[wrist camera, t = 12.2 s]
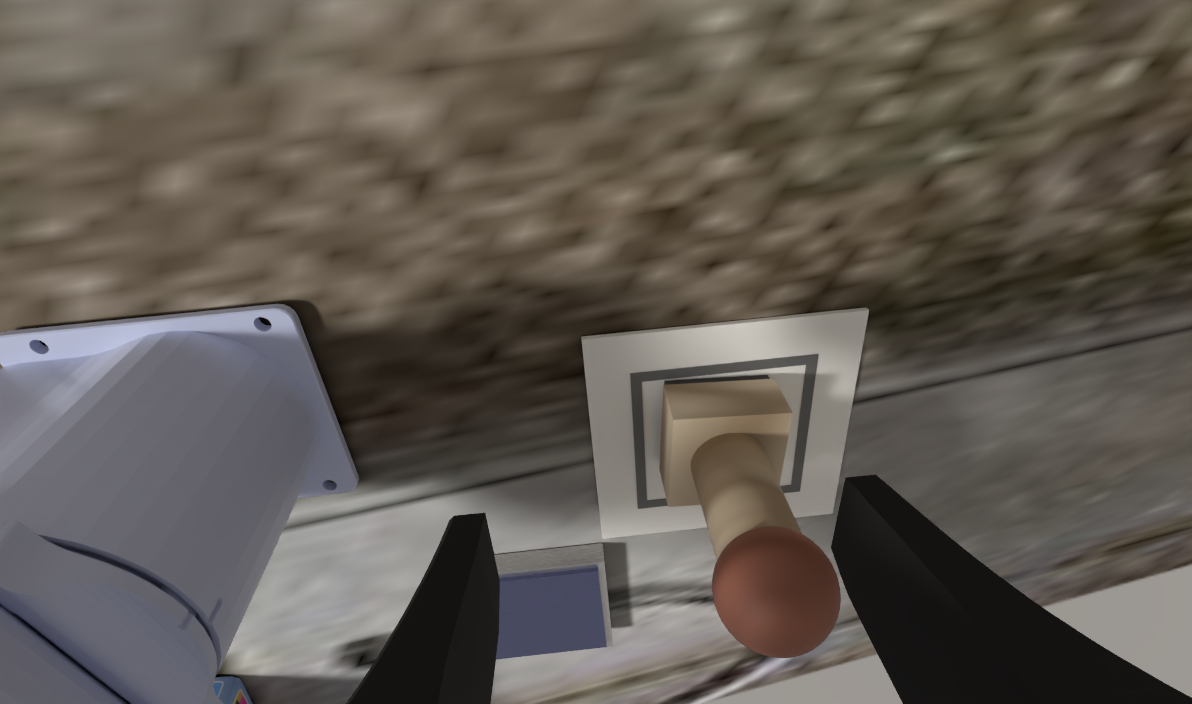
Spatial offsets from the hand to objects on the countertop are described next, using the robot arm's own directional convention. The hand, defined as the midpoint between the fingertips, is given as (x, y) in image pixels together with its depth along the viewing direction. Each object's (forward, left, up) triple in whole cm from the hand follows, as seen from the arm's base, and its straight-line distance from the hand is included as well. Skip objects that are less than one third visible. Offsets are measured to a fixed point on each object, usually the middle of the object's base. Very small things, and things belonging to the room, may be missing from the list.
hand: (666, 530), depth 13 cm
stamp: (+3, -5, -10) cm, 12 cm away
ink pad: (-4, -15, -10) cm, 18 cm away
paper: (+4, -6, -10) cm, 12 cm away
